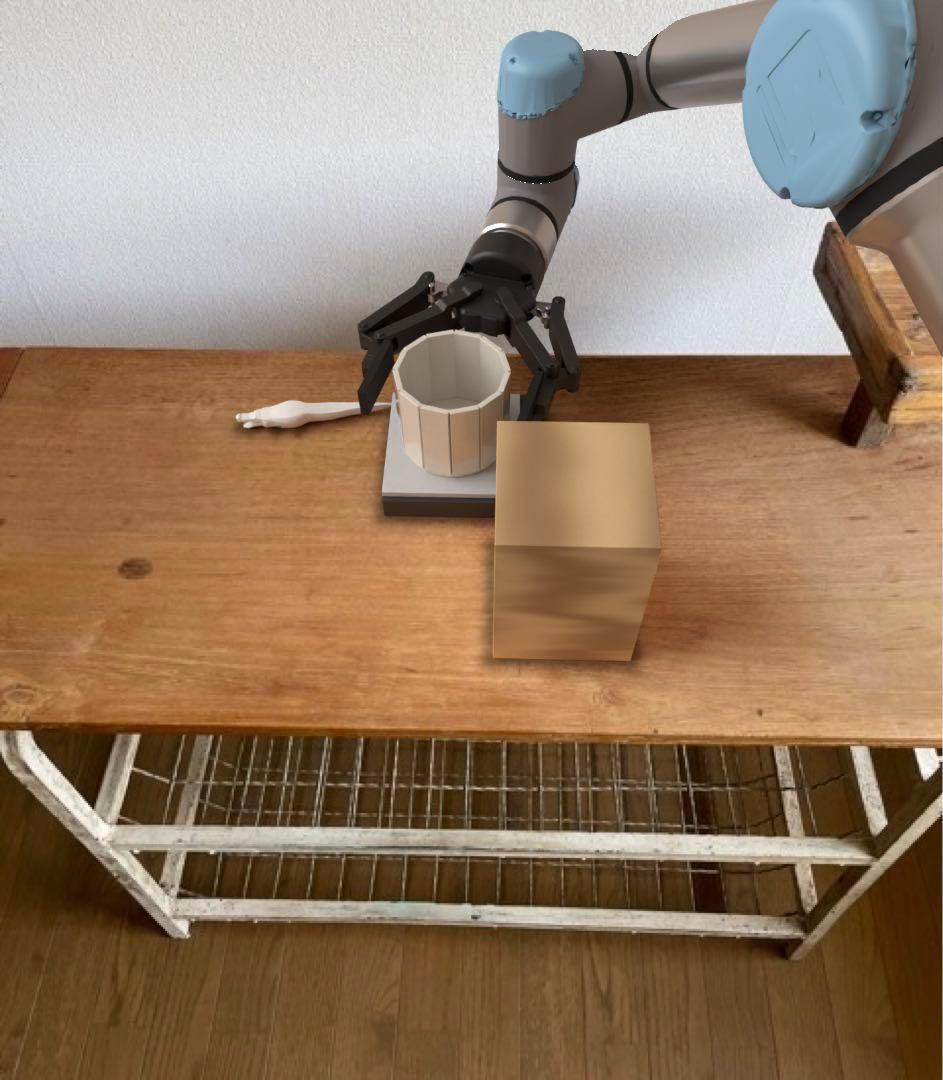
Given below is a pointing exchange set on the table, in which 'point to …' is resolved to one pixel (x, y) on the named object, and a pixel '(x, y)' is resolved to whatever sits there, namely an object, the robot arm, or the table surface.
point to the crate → (573, 539)
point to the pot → (451, 401)
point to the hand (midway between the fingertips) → (439, 420)
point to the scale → (436, 481)
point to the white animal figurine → (301, 413)
